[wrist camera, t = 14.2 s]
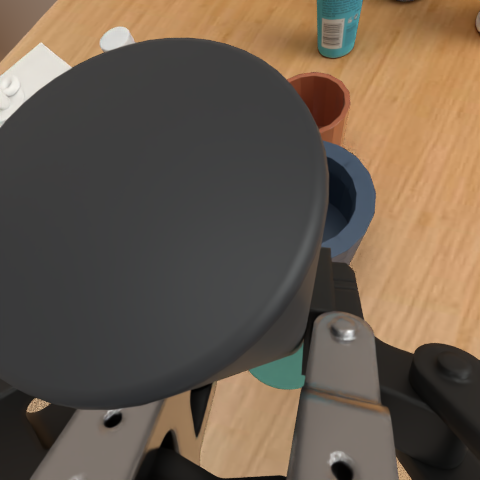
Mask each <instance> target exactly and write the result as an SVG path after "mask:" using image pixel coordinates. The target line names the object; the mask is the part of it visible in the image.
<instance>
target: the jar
mask: <svg viewBox="0 0 480 480" xmlns="http://www.w3.org/2000/svg"><path fill="white" fill-rule="evenodd" d="M322 141H323V140H322ZM323 144H324V147H325V150H326V157H327V164H328V171H329V203H328V209H327V215H326V221H325V227H324V232H323V238H322V243H321V247H326V248H331V258H332V262H341V263H347V264H348V265H349V264H350V262H351V260H352V258H353V256H354V254H355V252H356V250H357V248H358V246H359V244H360V242H361V240H362V239H363V237H364V235H365V233H366V231H367V228H368V226H369V224H370V222H371V220H372V218H373V216H374V213H375V198H376V192H375V189H374V185H373V182H372V179H371V176H370V174H369V172H368V171H367V169H366V168H365V167H364V166H363V164H362V163H361V162H360V160H359V159H358V158H357V157H356V156H355V155H353V154H352V153H350V152H349V151H347V150H346V149H344V148H343V147H341V146H339V145H336V144H333V143H330V142H326V141H323Z"/></svg>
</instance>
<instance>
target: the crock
mask: <svg viewBox="0 0 480 480" xmlns="http://www.w3.org/2000/svg"><path fill="white" fill-rule="evenodd" d="M287 81H288V82H289V83H290V84H291V85H292V86H293V87H294V88H295V90H296V91H297V93H298V94H299V95H300V97H301V98H302V100H303V101H304V102H305V104H306V105H307V107H308V109H309V110H310V112H311V114H312V116H313V118H314V120H315V122H316V124H317V126H318V128H319V131H320V134H321V138H322V140H323V141H326V142H330V143H333V144H336V145H339V146H341V147H343V141H344V136H345V131H346V125H347V120H348V115H349V109H350V95H349V91H348V89H347V88H346V87H345V85H344V84H343V82H342V81H340V80H339V79H337V78H335V77H333V76H331V75H329V74H324V73H318V72H311V73H304V74H299V75H296V76H294V77H292V78H289V79H287Z"/></svg>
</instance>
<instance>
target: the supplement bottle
mask: <svg viewBox="0 0 480 480" xmlns="http://www.w3.org/2000/svg"><path fill="white" fill-rule="evenodd" d="M133 43H136V42H135V41H134V39H133V37H132V36H131V34H130V32H129V30H128V29H127V28H125V27H115V28H112V29H111V30H109V31H107V32H106V33H105V34H104V35H103V36H102V38H101V40H100V47H101V48H102V50H103V52H107V51H109V50H112V49H116V48H119V47H122V46H125V45H129V44H133Z"/></svg>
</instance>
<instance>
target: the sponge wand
mask: <svg viewBox="0 0 480 480" xmlns="http://www.w3.org/2000/svg"><path fill="white" fill-rule="evenodd" d="M328 203H329V171H328V164H327V157H326V150H325V147H324V144H323V141H322V138H321V134H320V131H319V128H318V126H317V124H316V122H315V120H314V118H313V116H312V114H311V112H310V110H309V109H308V107H307V105H306V104H305V102H304V101H303V100H302V98H301V97H300V95H299V94H298V93H297V91H296V90H295V88H294V87H293V86H292V85H291V84H290V83H289V82H288V81H287V80H286V79H285V78H284V77H283V76H282V75H281V74H280V73H279V72H278V71H277V70H276V69H274V68H273V67H272V66H270V65H269V64H267V63H266V62H265V61H263V60H262V59H260V58H258V57H256V56H254V55H252V54H250V53H249V52H247V51H245V50H242V49H239V48H236V47H234V46H231V45H228V44H225V43H220V42H216V41H211V40H205V39H195V38H164V39H155V40H147V41H143V42H138V43H133V44H129V45H125V46H122V47H119V48H116V49H112V50H109V51H107V52H104V53H102V54H99V55H97V56H95V57H92V58H90V59H88V60H86V61H84V62H82V63H80V64H78V65H76V66H74V67H72V68H71V69H69V70H67V71H66V72H64V73H62V74H61V75H59V76H58V77H56V78H54V79H53V80H52V81H50V82H49V83H48V84H46V85H45V86H43V87H42V88H41V89H39V90H38V91H37V92H36V93H35V94H33V95H32V96H31V97H30V98H29V99H27V100H26V101H25V102H24V103H23V104H22V105H21V106H20V107H19V108H18V109H17V110H16V111H15V112H14V113H13V114H12V115H11V116H10V117H9V118H8V119H7V120H6V121H5V122H4V124H3V125H2V126H1V127H0V379H2V380H3V381H5V382H7V383H8V384H10V385H11V386H13V387H15V388H16V389H18V390H20V391H22V392H24V393H26V394H28V395H30V396H33V397H35V398H38V399H41V400H43V401H46V402H48V403H51V404H54V405H59V406H65V407H70V408H75V409H80V410H115V409H122V408H129V407H136V406H142V405H146V404H149V403H152V402H156V401H159V400H162V399H166V398H169V397H172V396H175V395H178V394H181V393H184V392H187V391H190V390H192V389H195V388H198V387H201V386H204V385H207V384H210V383H213V382H215V381H218V380H221V379H224V378H227V377H230V376H233V375H236V374H238V373H241V372H244V371H247V370H249V371H250V373H251V374H252V375H253V376H254V377H256V378H257V379H258V380H260V381H261V382H263V383H264V384H266V385H269V386H271V387H274V388H278V389H298V388H301V387H302V386H304V381H305V376H304V375H301V372H302V356H303V340H304V334H305V331H306V326H307V320H308V315H309V309H310V304H311V298H312V293H313V287H314V282H315V276H316V271H317V265H318V260H319V254H320V249H321V243H322V238H323V232H324V227H325V221H326V215H327V209H328Z"/></svg>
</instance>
